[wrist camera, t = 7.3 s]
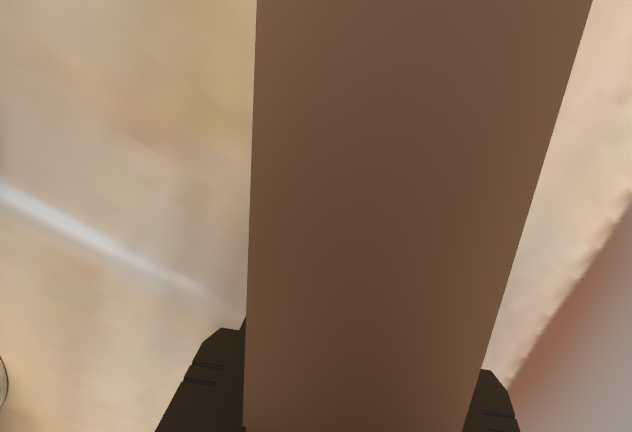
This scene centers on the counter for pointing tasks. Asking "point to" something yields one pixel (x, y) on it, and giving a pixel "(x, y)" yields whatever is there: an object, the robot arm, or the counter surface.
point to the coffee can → (3, 383)
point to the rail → (390, 200)
